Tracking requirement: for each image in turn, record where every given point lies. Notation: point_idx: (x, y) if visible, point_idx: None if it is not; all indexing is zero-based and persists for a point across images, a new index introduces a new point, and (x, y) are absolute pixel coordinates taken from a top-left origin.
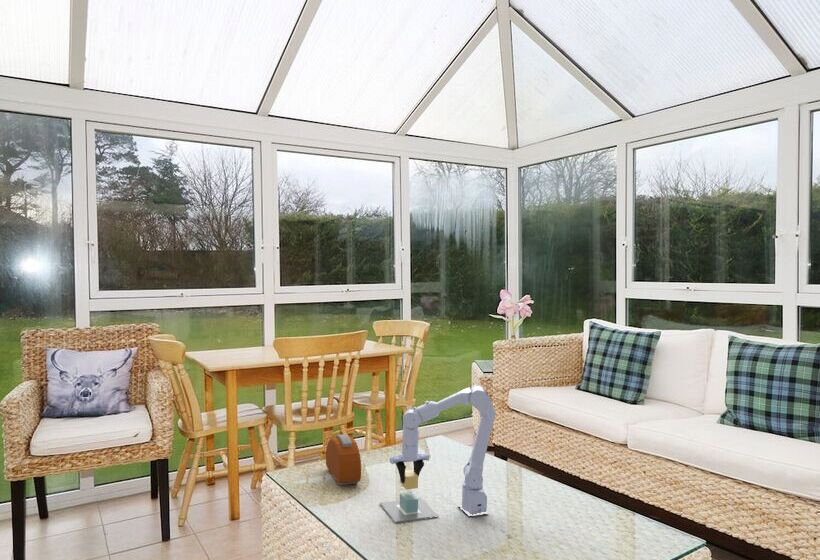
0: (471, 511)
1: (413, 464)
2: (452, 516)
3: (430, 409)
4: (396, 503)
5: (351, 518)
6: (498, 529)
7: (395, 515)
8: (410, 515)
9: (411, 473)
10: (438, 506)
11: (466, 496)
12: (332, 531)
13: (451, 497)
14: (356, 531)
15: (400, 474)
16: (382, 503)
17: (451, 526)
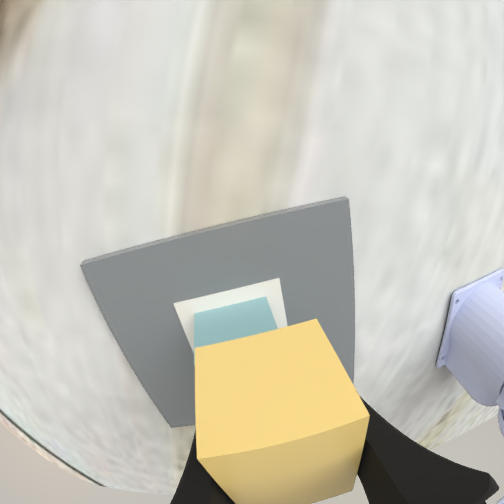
0: (451, 372)
1: (400, 495)
2: (398, 365)
3: None
4: (177, 278)
5: (15, 372)
6: (448, 401)
7: (171, 394)
8: None
9: (314, 484)
10: (395, 289)
11: (481, 374)
12: (9, 420)
13: (473, 194)
14: (62, 435)
15: (195, 477)
16: (94, 276)
17: None
